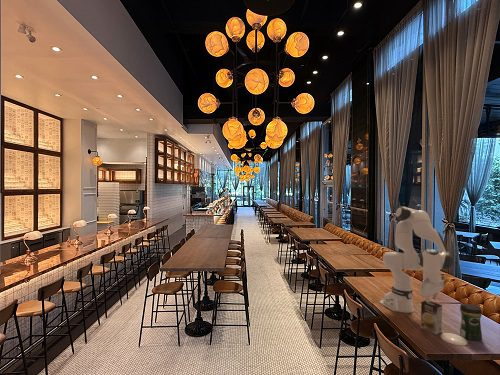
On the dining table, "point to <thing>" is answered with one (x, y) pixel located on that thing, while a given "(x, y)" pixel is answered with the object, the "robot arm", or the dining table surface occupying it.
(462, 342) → the cream glossy domed part
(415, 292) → the dining table surface
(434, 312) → the coffee box
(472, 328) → the coffee jar
